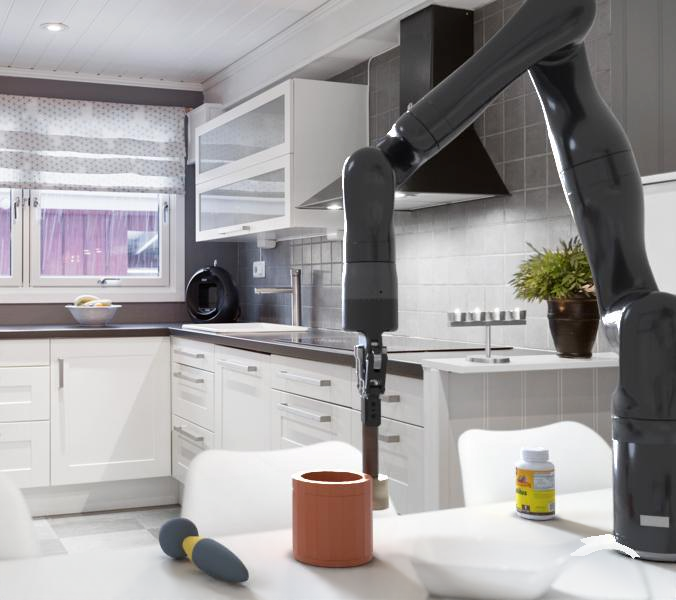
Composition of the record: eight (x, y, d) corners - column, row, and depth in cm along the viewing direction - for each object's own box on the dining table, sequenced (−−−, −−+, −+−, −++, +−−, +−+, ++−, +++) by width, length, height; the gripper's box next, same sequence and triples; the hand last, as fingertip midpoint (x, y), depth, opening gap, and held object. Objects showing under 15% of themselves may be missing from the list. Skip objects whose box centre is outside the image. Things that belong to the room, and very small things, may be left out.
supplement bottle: (511, 512, 128) (510, 446, 129) (548, 512, 128) (546, 446, 129) (522, 520, 123) (521, 451, 123) (560, 521, 123) (559, 451, 123)
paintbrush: (272, 582, 94) (272, 538, 94) (238, 591, 91) (237, 545, 91) (174, 546, 109) (174, 508, 109) (142, 553, 106) (142, 514, 106)
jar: (366, 545, 109) (365, 469, 110) (378, 567, 99) (377, 483, 100) (290, 545, 110) (290, 469, 110) (295, 567, 100) (294, 483, 100)
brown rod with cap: (385, 503, 114) (384, 386, 114) (391, 510, 109) (390, 389, 109) (350, 502, 114) (350, 386, 114) (355, 510, 109) (354, 389, 110)
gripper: (407, 295, 105) (408, 431, 105) (389, 298, 119) (389, 419, 119) (348, 295, 106) (349, 431, 105) (336, 298, 119) (337, 419, 119)
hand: (370, 424), depth 112 cm, fingers closed on brown rod with cap
